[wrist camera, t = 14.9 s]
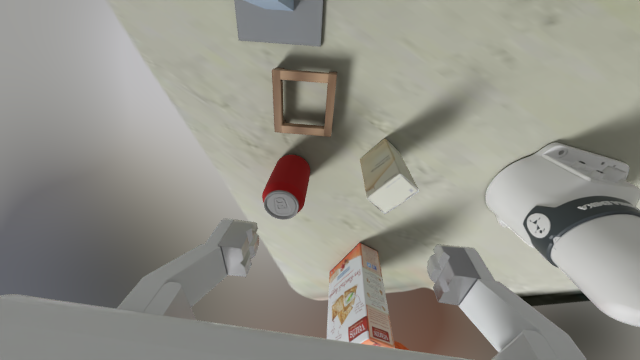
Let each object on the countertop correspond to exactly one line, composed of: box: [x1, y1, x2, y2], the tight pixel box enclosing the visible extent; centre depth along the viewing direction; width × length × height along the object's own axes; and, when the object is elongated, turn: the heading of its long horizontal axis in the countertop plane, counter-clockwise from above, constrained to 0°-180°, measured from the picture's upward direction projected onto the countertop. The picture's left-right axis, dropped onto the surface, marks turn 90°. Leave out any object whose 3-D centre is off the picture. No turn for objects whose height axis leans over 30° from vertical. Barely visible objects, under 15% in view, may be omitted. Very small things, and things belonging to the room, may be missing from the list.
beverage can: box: [262, 155, 310, 219], centre depth 40 cm, size 7×7×12 cm
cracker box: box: [327, 243, 395, 349], centre depth 49 cm, size 14×6×21 cm, turn 150°
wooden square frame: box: [272, 68, 337, 137], centre depth 37 cm, size 9×9×3 cm
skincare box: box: [360, 139, 419, 214], centre depth 37 cm, size 6×4×12 cm
